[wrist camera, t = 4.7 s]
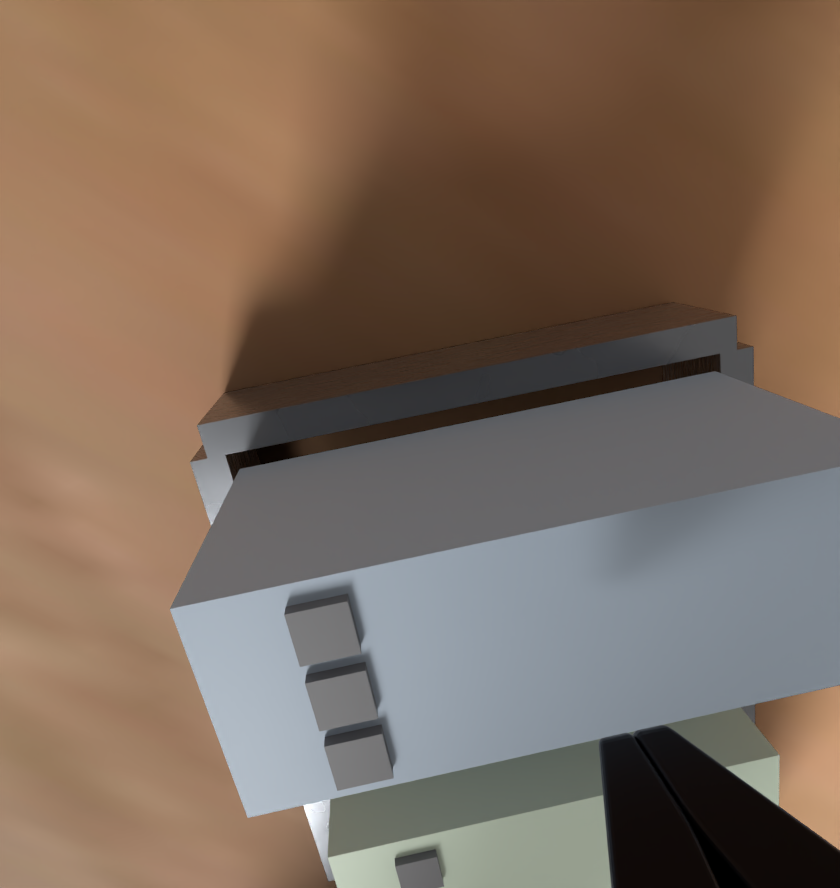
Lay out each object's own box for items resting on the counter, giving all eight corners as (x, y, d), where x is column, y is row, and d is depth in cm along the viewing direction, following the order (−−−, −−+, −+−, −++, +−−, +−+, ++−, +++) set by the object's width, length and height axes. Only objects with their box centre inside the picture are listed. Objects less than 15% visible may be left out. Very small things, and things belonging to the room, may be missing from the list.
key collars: (388, 979, 25) (392, 1076, 22) (209, 395, 17) (179, 429, 14) (710, 904, 25) (756, 989, 22) (687, 299, 17) (753, 312, 14)
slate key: (284, 618, 15) (245, 828, 10) (239, 469, 14) (165, 616, 8) (719, 525, 16) (910, 679, 10) (715, 371, 14) (933, 454, 9)
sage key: (361, 787, 21) (363, 977, 16) (335, 693, 20) (326, 865, 14) (675, 717, 21) (783, 879, 16) (670, 620, 20) (784, 761, 15)
